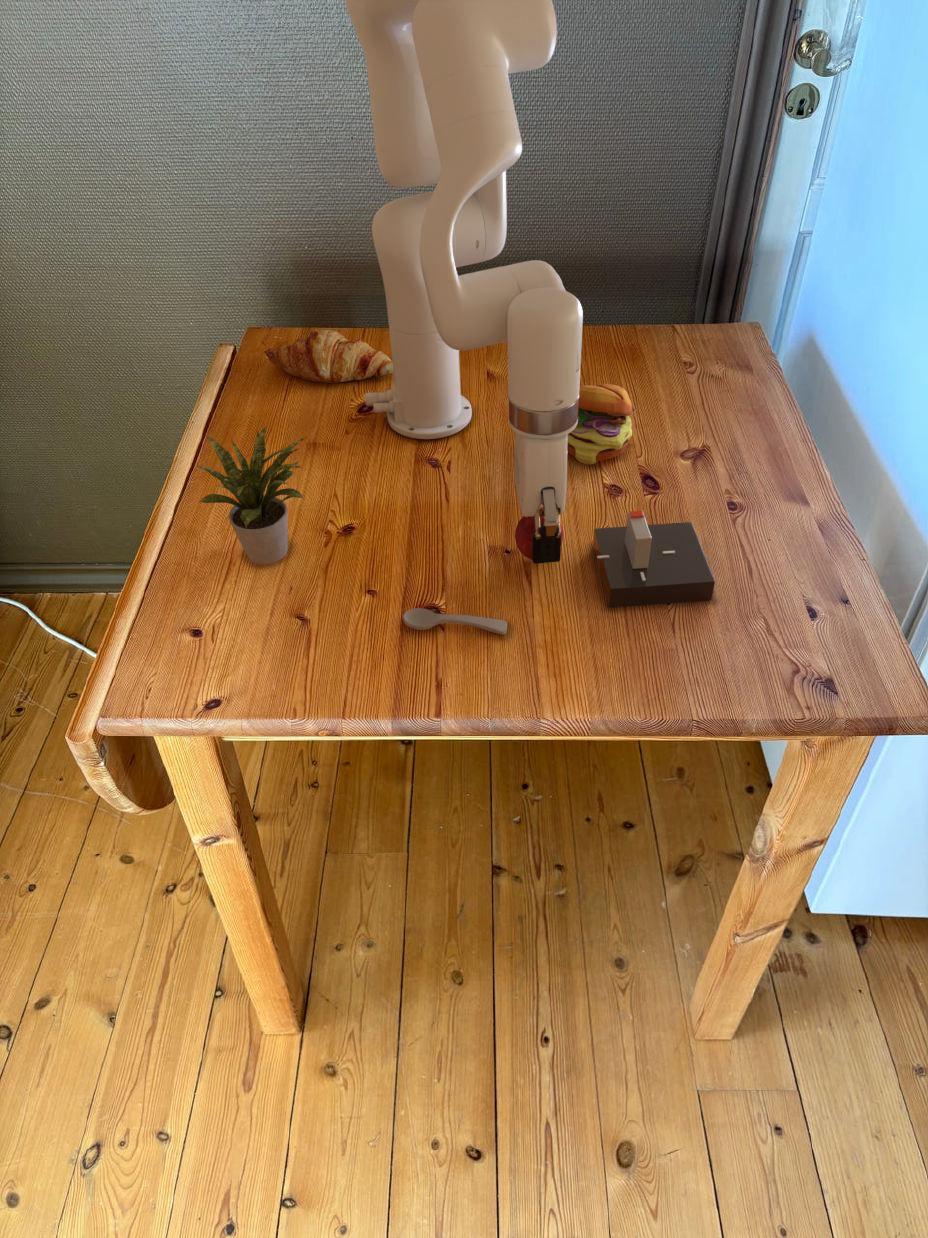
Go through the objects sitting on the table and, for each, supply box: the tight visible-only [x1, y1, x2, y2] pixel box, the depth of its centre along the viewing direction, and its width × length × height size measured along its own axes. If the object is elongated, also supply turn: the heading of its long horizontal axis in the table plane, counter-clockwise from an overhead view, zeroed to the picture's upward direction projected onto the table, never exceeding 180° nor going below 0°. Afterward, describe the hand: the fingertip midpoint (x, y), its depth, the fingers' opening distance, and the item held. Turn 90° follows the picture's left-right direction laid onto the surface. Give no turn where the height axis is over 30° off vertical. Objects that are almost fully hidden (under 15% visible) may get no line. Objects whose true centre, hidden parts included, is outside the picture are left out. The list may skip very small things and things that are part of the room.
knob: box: [625, 510, 652, 569], centre depth 108 cm, size 5×2×5 cm, turn 4°
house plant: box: [197, 426, 307, 566], centre depth 111 cm, size 14×14×16 cm
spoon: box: [402, 607, 508, 636], centre depth 106 cm, size 3×12×2 cm, turn 83°
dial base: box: [592, 521, 716, 609], centre depth 110 cm, size 13×11×3 cm
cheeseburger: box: [567, 383, 636, 465], centre depth 129 cm, size 10×11×10 cm
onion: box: [514, 505, 564, 561], centre depth 111 cm, size 6×6×8 cm
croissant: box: [266, 328, 393, 384], centre depth 147 cm, size 21×10×8 cm, turn 80°
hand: (540, 535), depth 111 cm, fingers open, 9 cm apart
